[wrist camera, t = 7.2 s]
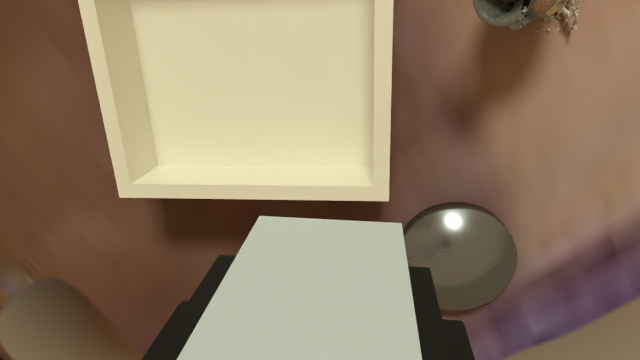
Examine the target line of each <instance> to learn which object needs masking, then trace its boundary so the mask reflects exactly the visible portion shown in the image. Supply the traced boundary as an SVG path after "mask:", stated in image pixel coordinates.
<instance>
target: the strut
mask: <svg viewBox="0 0 640 360" xmlns="http://www.w3.org/2000/svg"><path fill="white" fill-rule="evenodd" d="M177 360H422V355H421V349H420V342H419V335H418V329H417V322H416V315H415V309H414V302H413V295H412V289H411V282H410V275H409V269H408V262H407V255H406V249H405V242H404V236H403V229H402V223H389V222H369V221H350V220H330V219H311V218H292V217H272V216H259V217H258V219H257V221H256V223H255V224H254V226H253V228H252V230H251V231H250V233H249V235H248V237H247V238H246V240H245V242H244V244H243V245H242V247H241V249H240V251H239V252H238V254H237V256H236V257H235V259H234V261H233V263H232V264H231V266H230V268H229V270H228V271H227V273H226V275H225V277H224V278H223V280H222V282H221V284H220V285H219V287H218V289H217V291H216V292H215V294H214V296H213V297H212V299H211V301H210V303H209V304H208V306H207V308H206V310H205V311H204V313H203V315H202V317H201V318H200V320H199V322H198V324H197V325H196V327H195V329H194V331H193V332H192V334H191V336H190V337H189V339H188V341H187V343H186V344H185V346H184V348H183V350H182V351H181V353H180V355H179V357H178V358H177Z"/></svg>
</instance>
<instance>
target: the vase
mask: <svg viewBox="0 0 640 360" xmlns="http://www.w3.org/2000/svg"><path fill="white" fill-rule="evenodd" d="M568 1H569V0H473V4H474V9H475V11H476V13H477V15H478V17H479V18H480V19H481V20H482V21H484V22H486V23H487V24H489V25H492V26H496V27H504V26H506V27H507V28H508V29H509V30H512V31H516V30H519V29H521V28H523V27H524V26H526V25H527V24H528V23H530V22H532V21H537V20H541V19H543V21H545V20H546V19H547V17H548V16H550V15H552V14H554V13H555V12H557V14H558V15H557V17H559V14H560V13H562V14H563V15H564V16H566V17H567V18H566V21H567V20H570V19H569V17H571V16H572V17H575V20H574V22H573V26H572V27H571V29H572V30H575V29H576V24H577V21H578V20H577V19H578V18H577V17H578V14H576V13H577V12H578V9H579V7H578V4H577V3H578V1H575V4H577V7H576V8H575V7H572V9H573V11H572V12H570V11H569V10H567V9H566V8H565V5H566V3H567V2H568ZM583 3H584V2H583ZM570 5H571V6H572V5H574V0H571V1H570ZM552 17H553V16H552ZM552 17H550V18H552ZM557 17H556V18H557ZM554 18H555V17H554ZM548 19H549V17H548ZM559 19H560V18H559ZM566 21H565V23H566ZM548 22H549V21H548ZM546 23H547V22H546ZM565 23H564V24H565ZM564 24H563V26H564ZM571 25H572V23H571ZM581 27H582V26H581ZM545 30H546V29H545ZM557 30H559V28H558V29H557ZM560 30H561V29H560ZM576 30H577V29H576ZM537 31H539V30H537ZM537 31H534V32H537ZM548 31H550V29H548ZM563 31H564V30H563ZM586 31H587V30H586ZM589 31H590V30H589ZM534 32H533V33H534ZM530 35H531V34H530Z"/></svg>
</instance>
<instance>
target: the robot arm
mask: <svg viewBox="0 0 640 360" xmlns="http://www.w3.org/2000/svg"><path fill="white" fill-rule="evenodd" d="M235 257H236V256H235V255H219V256H218V257H217V259H216V260H215V262H214V263H213V265H212V266H211V268H210V269H209V271H208V273H207V274H206V276H205V277H204V279H203V280H202V282H201V283H200V285H199V286H198V288H197V289H196V291H195V293H194V294H193V296H192V297H191V299H190V300H189V301H182V302H181V303H180V304H179V305H178V307H177V308H176V310H175V311H174V313H173V314H172V315H171V317H170V318H169V320H168V321H167V323H166V324H165V326H164V327H163V329H162V330H161V332H160V333H159V335H158V336H157V338H156V339H155V341H154V342H153V343H152V345H151V346H150V348H149V349H148V351H147V352H146V354H145V355H144V357H143V358H142V360H177V358H178V357H179V355H180V353H181V351H182V350H183V348H184V346H185V344H186V343H187V341H188V339H189V337H190V336H191V334H192V332H193V331H194V329H195V327H196V325H197V324H198V322H199V320H200V318H201V317H202V315H203V313H204V311H205V310H206V308H207V306H208V304H209V303H210V301H211V299H212V297H213V296H214V294H215V292H216V291H217V289H218V287H219V285H220V284H221V282H222V280H223V278H224V277H225V275H226V273H227V271H228V270H229V268H230V266H231V264H232V263H233V261H234V259H235ZM408 269H409V275H410V282H411V289H412V295H413V302H414V309H415V315H416V322H417V329H418V335H419V342H420V349H421V355H422V360H475V359H474V355H473V352H472V349H471V346H470V342H469V339H468V336H467V332H466V329H465V326H464V324H463V322H462V321H457V320H444V319H442V316H441V312H440V308H439V304H438V300H437V295H436V291H435V287H434V283H433V279H432V274H431V270H430V268H429V267H415V266H408Z"/></svg>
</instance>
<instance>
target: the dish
mask: <svg viewBox="0 0 640 360" xmlns="http://www.w3.org/2000/svg"><path fill="white" fill-rule="evenodd" d="M78 3H79V7H80V12H81V17H82V21H83V26H84V31H85V36H86V40H87V45H88V50H89V55H90V59H91V64H92V69H93V74H94V78H95V83H96V88H97V93H98V97H99V102H100V107H101V112H102V116H103V121H104V126H105V131H106V135H107V140H108V145H109V150H110V154H111V159H112V164H113V168H114V173H115V178H116V183H117V187H118V192H119V197H120V198H190V199H262V200H333V201H389V171H390V127H391V82H392V38H393V0H78Z"/></svg>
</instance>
